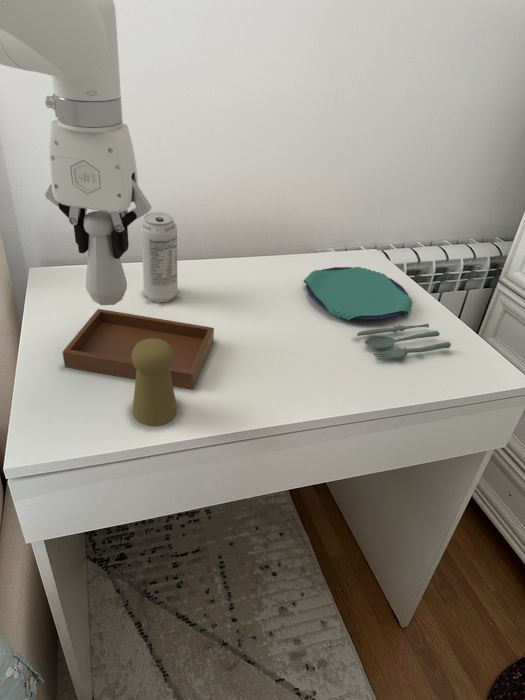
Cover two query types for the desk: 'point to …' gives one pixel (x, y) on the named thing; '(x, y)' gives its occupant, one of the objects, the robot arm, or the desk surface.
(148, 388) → the pepper shaker
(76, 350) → the tray
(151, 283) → the energy drink can
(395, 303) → the cutlery set
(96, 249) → the salt shaker
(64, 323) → the desk surface
